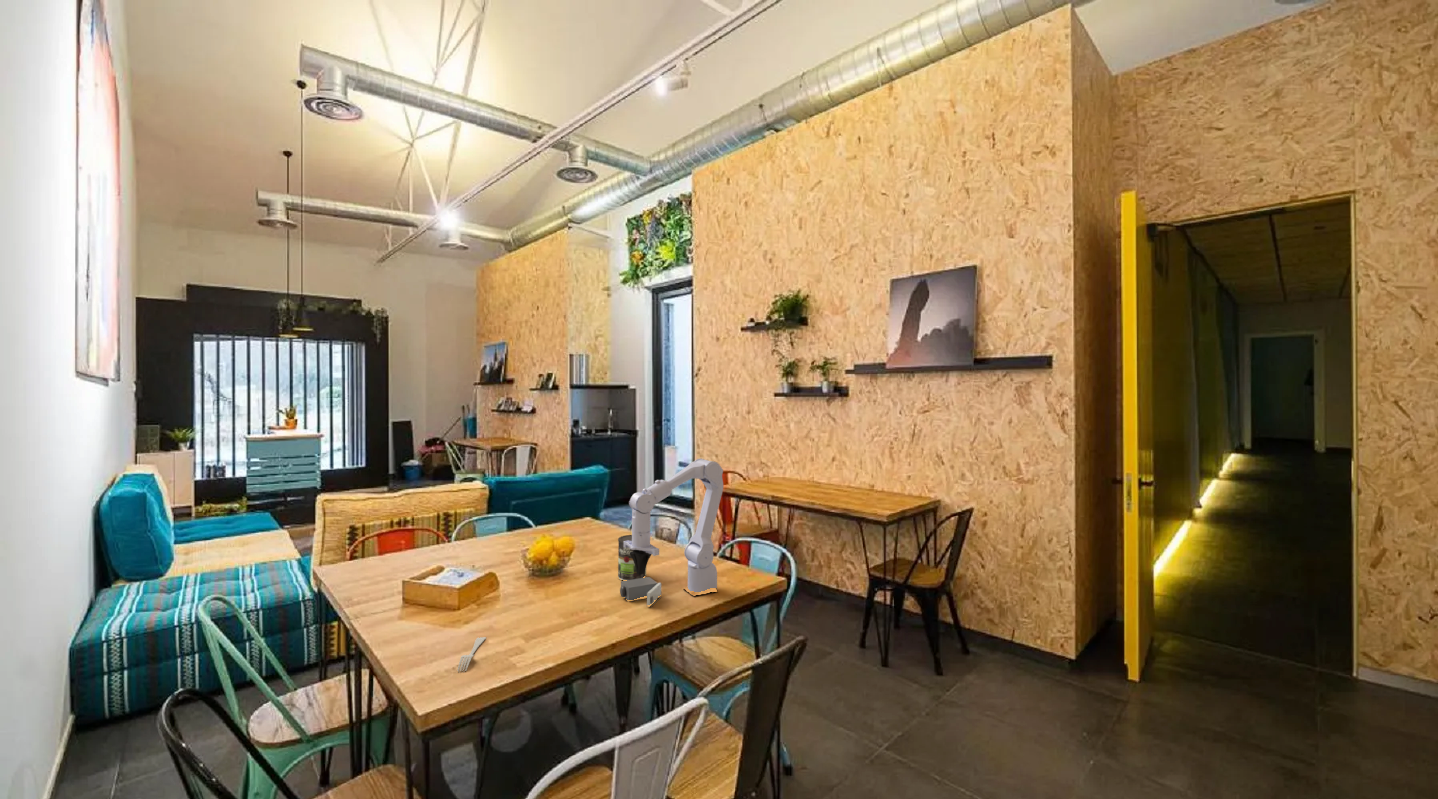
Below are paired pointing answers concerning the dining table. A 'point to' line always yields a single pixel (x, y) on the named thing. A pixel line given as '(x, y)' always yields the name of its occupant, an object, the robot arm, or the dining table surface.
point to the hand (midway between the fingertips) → (640, 573)
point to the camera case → (636, 588)
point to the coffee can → (626, 561)
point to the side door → (653, 594)
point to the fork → (476, 645)
